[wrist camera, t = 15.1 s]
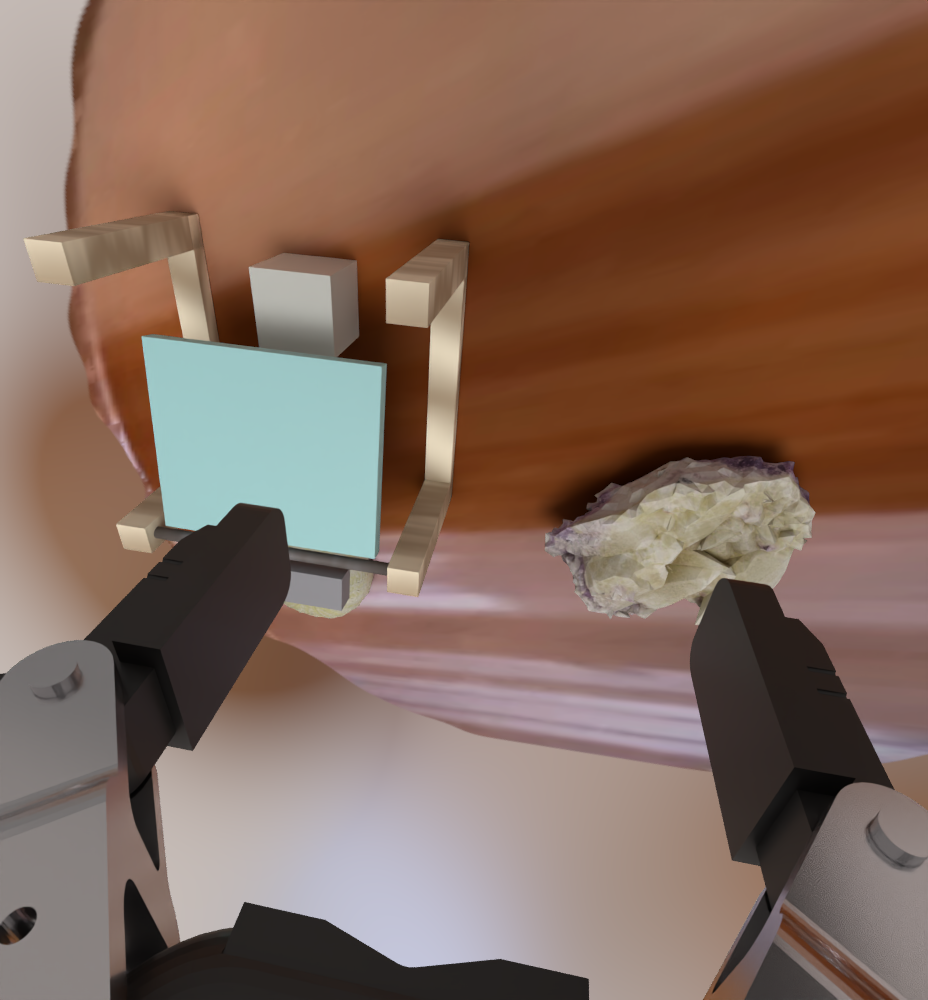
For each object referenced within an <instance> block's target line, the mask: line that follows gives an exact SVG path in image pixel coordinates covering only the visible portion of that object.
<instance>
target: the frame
mask: <svg viewBox="0 0 928 1000" xmlns="http://www.w3.org/2000/svg"><path fill="white" fill-rule="evenodd" d="M24 242H25V245H26V248H27V251H28V254H29V257H30V260H31V263H32V266H33V270H34V273H35V276H36V279H37V281H38V282H45V283H53V284H62V285H70V286H76V285H79V284H82V283H86V282H89V281H92V280H96V279H99V278H102V277H106V276H109V275H112V274H116V273H119V272H122V271H125V270H129V269H132V268H135V267H139V266H142V265H145V264H149V263H152V262H155V261H159V260H162V259H165V258H168V263H169V268H170V273H171V278H172V283H173V288H174V293H175V298H176V303H177V308H178V313H179V318H180V323H181V328H182V333H183V338H187V339H195V340H203V341H211V342H219V337H218V331H217V325H216V319H215V313H214V307H213V301H212V295H211V288H210V282H209V276H208V270H207V264H206V258H205V252H204V246H203V240H202V234H201V228H200V222H199V216H198V214H193V213H184V212H174V211H167V212H162V213H156V214H151V215H146V216H140V217H135V218H130V219H124V220H119V221H114V222H108V223H103V224H98V225H92V226H87V227H82V228H76V229H71V230H66V231H60V232H55V233H50V234H44V235H39V236H34V237H28V238H24ZM468 254H469V242H464V241H454V240H445V239H437V240H436V241H434V242H433V243H432V244H430V245H429V246H428V247H427V248H425V249H424V250H423V251H421V252H420V253H419V254H417V255H416V256H415V257H414V258H412V259H411V260H410V261H408V262H407V263H406V264H404V265H403V266H402V267H401V268H399V269H398V270H397V271H395V272H394V273H393V274H391V275H390V276H389V277H388V278H386V323H390V324H398V325H407V326H415V327H423V328H428V327H429V326H430V324H431V334H430V360H429V386H428V412H427V438H426V464H425V481H424V483H423V485H422V488H421V490H420V492H419V495H418V497H417V499H416V502H415V504H414V506H413V509H412V511H411V513H410V516H409V518H408V520H407V523H406V525H405V527H404V530H403V532H402V534H401V537H400V539H399V541H398V544H397V546H396V548H395V551H394V553H393V555H392V558H391V560H390V562H389V563H385V562H379V561H373V560H366V559H360V558H354V557H347V556H341V555H335V554H329V553H322V552H316V551H310V550H304V549H297V548H291V547H288V550H289V559H290V560H294V561H300V562H306V563H312V564H319V565H325V566H331V567H337V568H343V569H349V570H356V571H362V572H368V573H374V574H380V575H387V592H391V593H397V594H403V595H409V596H415V597H418V596H419V593H420V590H421V587H422V584H423V581H424V578H425V575H426V572H427V569H428V566H429V563H430V560H431V557H432V554H433V551H434V548H435V545H436V542H437V539H438V536H439V533H440V530H441V527H442V524H443V521H444V518H445V515H446V512H447V509H448V506H449V503H450V500H451V497H452V483H453V469H454V455H455V440H456V426H457V412H458V397H459V383H460V369H461V354H462V340H463V325H464V311H465V297H466V282H467V268H468ZM116 526H117V528H118V532H119V535H120V538H121V541H122V544H123V547H124V549H129V550H136V551H141V552H147V553H153V552H154V551H155V550H156V549H157V548H158V547H159V546H160V545H161V544H162V543H163V542H164V541H165V540H170V541H176V542H179V541H180V540H181V539H182V538H184V537H186V536H188V535H190V534H191V533H193V532H191V531H185V530H178V529H177V527H171V526H166V524H165V516H164V509H163V501H162V493H161V486H160V487H159V488H158V489H157V490H156V491H154V492H153V493H152V494H151V495H150V496H149V497H147V498H146V499H145V500H144V501H143V502H142V503H140V504H139V505H138V506H137V507H136V508H135V509H133V510H132V511H131V512H130V513H129V514H128V515H126V516H125V517H124V518H123V519H122V520H121V521H119V522H118V523H117V524H116Z"/></svg>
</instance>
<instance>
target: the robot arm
mask: <svg viewBox="0 0 928 1000" xmlns="http://www.w3.org/2000/svg"><path fill="white" fill-rule="evenodd" d="M290 582H291V567H290V559H289V550H288V542H287V534H286V526H285V519H284V515H283V512H282V511H281V510H280V509H279V508H273V507H266V506H260V505H253V504H247V503H238V504H236V505H235V506H234V507H233V508H232V509H231V510H230V511H229V512H228V513H227V515H226V516H225V517H224V518H223V519H222V520H221V521H220V522H219V523H218V524H217V525H216V526H214V525H206V526H204V527H202V528H200V529H199V530H197V531H195V532H193V533H191V534H190V535H188V536H186V537H184V538H182V539H181V540H180V541H179V542H178V543H177V544H176V545H175V546H174V547H173V548H172V549H171V550H170V551H169V552H168V553H167V555H165V557H164V558H163V562H159V563H158V564H157V565H156V566H155V567H154V568H153V569H152V570H151V571H150V572H149V573H148V576H147V578H143V579H142V580H141V581H140V582H139V583H138V584H137V585H136V587H135V588H134V589H132V591H131V592H130V593H129V594H128V595H127V596H126V597H125V598H124V599H123V600H122V601H121V602H120V603H119V604H118V605H117V606H116V607H115V608H114V609H113V610H112V611H111V612H110V613H109V614H108V615H107V616H106V617H105V618H104V619H103V620H102V622H101V623H100V624H99V625H98V626H97V627H96V628H95V629H94V630H93V631H92V632H91V633H90V634H89V635H88V636H87V637H86V638H85V639H84V640H74V641H66V642H62V643H58V644H54V645H51V646H48V647H46V648H43V649H41V650H39V651H36V652H35V653H33V654H31V655H29V656H27V657H26V658H24V659H23V660H21V661H20V662H18V663H17V664H16V665H15V666H13V667H12V668H11V669H10V670H9V671H8V672H7V673H5V674H0V1000H589V979H587V978H583V977H578V976H574V975H570V974H564V973H561V972H556V971H552V970H547V969H543V968H538V967H533V966H529V965H525V964H520V963H516V962H511V961H506V960H502V959H496V960H486V961H477V962H466V963H456V964H446V965H436V966H426V967H416V968H415V967H414V968H413V967H410V968H409V967H405V966H402V965H400V964H397V963H396V962H394V961H392V960H390V959H389V958H387V957H386V956H384V955H382V954H381V953H379V952H377V951H376V950H374V949H372V948H371V947H369V946H367V945H366V944H364V943H362V942H361V941H359V940H357V939H356V938H354V937H352V936H351V935H349V934H348V933H346V932H344V931H343V930H341V929H339V928H337V927H336V926H334V925H333V924H331V923H329V922H328V921H326V920H323V919H318V918H314V917H308V916H305V915H300V914H296V913H291V912H287V911H282V910H278V909H273V908H269V907H264V906H260V905H255V904H251V903H246V902H244V904H243V906H242V909H241V911H240V913H239V916H238V918H237V920H236V923H235V925H234V927H233V928H227V929H221V930H217V931H213V932H209V933H204V934H201V935H198V936H195V937H193V938H190V939H187V940H185V941H182V942H180V937H179V930H178V925H177V920H176V915H175V911H174V907H173V903H172V899H171V895H170V890H169V885H168V877H167V867H166V857H165V847H164V838H163V827H162V816H161V806H160V796H159V786H158V775H157V770H156V766H155V763H156V762H157V760H158V759H159V757H160V756H161V754H162V753H163V751H164V750H165V748H166V747H167V746H171V747H176V748H181V749H186V750H191V751H193V750H194V748H195V746H196V745H197V743H198V741H199V740H200V738H201V737H202V735H203V733H204V732H205V730H206V729H207V727H208V725H209V724H210V722H211V720H212V719H213V717H214V715H215V714H216V712H217V711H218V709H219V707H220V706H221V704H222V703H223V701H224V699H225V697H226V696H227V694H228V693H229V691H230V690H231V688H232V686H233V685H234V683H235V682H236V680H237V678H238V677H239V675H240V673H241V672H242V670H243V668H244V667H245V665H246V664H247V662H248V660H249V659H250V657H251V656H252V654H253V652H254V651H255V649H256V647H257V646H258V644H259V642H260V641H261V639H262V638H263V636H264V635H265V633H266V631H267V630H268V628H269V626H270V625H271V623H272V622H273V620H274V618H275V617H276V615H277V613H278V612H279V610H280V609H281V607H282V605H283V604H284V602H285V600H286V597H287V595H288V591H289V587H290ZM690 671H691V677H692V681H693V686H694V690H695V695H696V699H697V704H698V708H699V713H700V717H701V722H702V726H703V731H704V736H705V740H706V745H707V749H708V754H709V758H710V763H711V767H712V772H713V776H714V781H715V785H716V790H717V794H718V799H719V804H720V808H721V813H722V817H723V822H724V826H725V831H726V835H727V840H728V844H729V849H730V853H731V858H732V860H733V861H738V862H743V863H748V864H753V865H758V866H761V870H762V874H763V878H764V881H765V885H766V887H765V888H764V890H763V891H762V892H761V894H760V895H759V897H758V899H757V901H756V902H755V904H754V906H753V908H752V910H751V912H750V913H749V915H748V917H747V919H746V921H745V923H744V925H743V926H742V928H741V930H740V932H739V934H738V936H737V938H736V939H735V941H734V943H733V945H732V947H731V949H730V950H729V952H728V954H727V956H726V958H725V960H724V962H723V964H722V965H721V967H720V969H719V971H718V973H717V975H716V977H715V978H714V980H713V982H712V984H711V986H710V987H709V989H708V991H707V993H706V995H705V997H704V999H703V1000H928V811H927V810H926V809H925V808H923V807H922V806H921V805H919V804H918V803H916V802H915V801H913V800H912V799H910V798H908V797H907V796H905V795H903V794H902V793H899V792H897V791H895V790H894V788H893V786H892V784H891V782H890V780H889V778H888V776H887V774H886V772H885V770H884V768H883V766H882V764H881V762H880V760H879V758H878V756H877V754H876V752H875V750H874V748H873V745H872V743H871V741H870V739H869V737H868V735H867V733H866V731H865V729H864V727H863V725H862V723H861V721H860V719H859V717H858V715H857V713H856V711H855V709H854V707H853V705H852V703H851V701H850V699H847V698H846V694H847V693H846V691H845V689H844V687H843V685H842V683H841V680H840V678H839V676H836V675H835V672H836V670H835V668H834V666H833V664H832V662H831V660H830V658H829V656H828V654H827V652H826V650H825V648H824V646H823V644H822V643H821V642H820V641H819V640H818V639H817V638H816V637H815V636H814V635H813V634H812V633H811V632H810V631H809V630H808V629H807V628H806V626H805V625H804V624H803V623H802V622H801V621H800V620H799V619H794V618H787V617H785V616H784V614H783V611H782V609H781V607H780V605H779V602H778V600H777V598H776V596H775V593H774V591H773V589H772V588H771V587H770V586H769V585H767V584H760V583H754V582H747V581H741V580H734V579H728V578H721V579H720V580H719V581H718V582H717V584H716V586H715V588H714V590H713V593H712V595H711V597H710V600H709V602H708V605H707V607H706V610H705V612H704V614H703V617H702V619H701V622H700V624H699V626H698V629H697V631H696V634H695V636H694V639H693V642H692V647H691V653H690Z"/></svg>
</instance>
